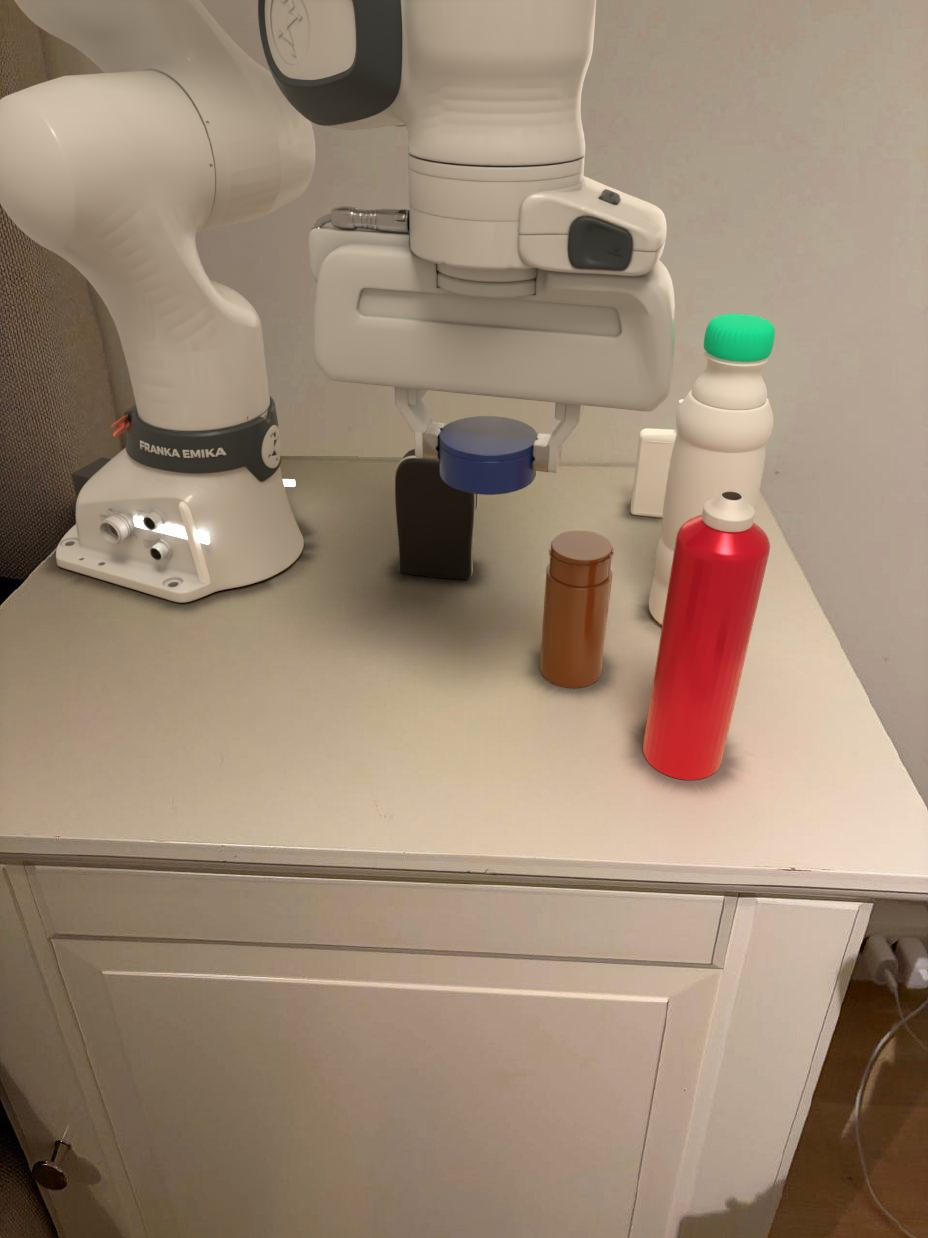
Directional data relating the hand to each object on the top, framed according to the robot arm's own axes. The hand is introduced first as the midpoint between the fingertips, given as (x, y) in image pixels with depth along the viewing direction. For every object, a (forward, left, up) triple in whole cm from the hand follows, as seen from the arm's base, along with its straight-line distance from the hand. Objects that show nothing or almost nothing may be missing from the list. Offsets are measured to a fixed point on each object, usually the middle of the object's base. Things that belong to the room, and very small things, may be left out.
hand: (488, 461), depth 56 cm
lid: (0, 0, +1) cm, 1 cm away
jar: (+5, +8, -21) cm, 23 cm away
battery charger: (-9, +20, -21) cm, 30 cm away
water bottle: (+14, +18, -21) cm, 31 cm away
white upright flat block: (+11, +36, -21) cm, 43 cm away
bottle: (+14, 0, -21) cm, 25 cm away
